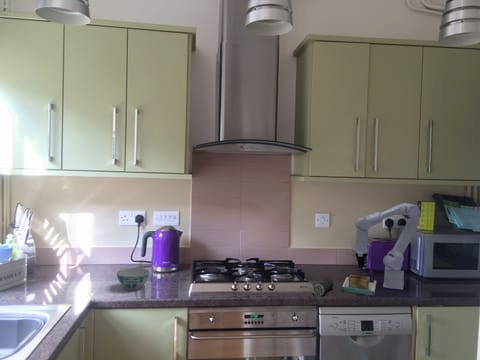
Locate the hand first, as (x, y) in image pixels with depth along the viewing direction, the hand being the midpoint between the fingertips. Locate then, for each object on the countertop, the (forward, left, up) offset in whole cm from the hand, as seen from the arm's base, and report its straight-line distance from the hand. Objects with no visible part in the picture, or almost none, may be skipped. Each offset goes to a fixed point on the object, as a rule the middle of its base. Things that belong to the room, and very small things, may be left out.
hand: (360, 267), depth 199 cm
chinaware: (+99, +56, -10) cm, 114 cm away
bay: (0, +3, -9) cm, 10 cm away
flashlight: (+15, +19, -10) cm, 26 cm away
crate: (0, +8, -9) cm, 12 cm away
